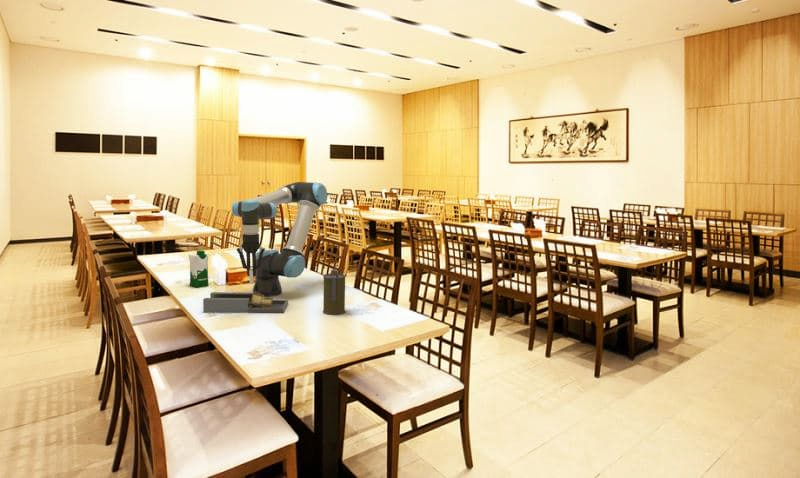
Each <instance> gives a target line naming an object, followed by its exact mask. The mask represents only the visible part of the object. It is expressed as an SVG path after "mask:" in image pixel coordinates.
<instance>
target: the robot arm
mask: <svg viewBox="0 0 800 478" xmlns="http://www.w3.org/2000/svg"><path fill="white" fill-rule="evenodd" d="M327 200H328V191H327V187H326V185H324V184H323V183H322V182H315V181H314V182H309V181H308V182H307V181H296V182H292V183H289V184H286V185H282V186H280V187H279V188H278V189H277V190H275V191H270V192H268V193H265V194H262V195H259V196H257V197H253V198H251V199H245V200H240V201H235V202H233V204H232V206H231V213H232V215H234V216H236V217H239V218H241V232H242V234H241V238H242V239H241V240H242V243H241V246H240V247H237V248H236V251H237V253H238V254H239V258H240V262H241V266H242V268H243V269H244V270H246V276H247V277H249V284H250V285H251V284H252V285H253V288H252V293H255V292H256V293H260V294H263V295H264V297H275V296H279V295H281V294H282V293H283V288H282V285H281V282H280V279H279V277H285V278H294V279H295V278H298V277H300V276H301V275H302V274H303V272H304V270H305V268H306V260H305V257H304V253H303V249H304V247H305V243H306V240H307V237H308V235H309V231H310V228H311V225H312V222H313V219H314V216H315V213H316V212H317V211H319V210H320V207H321V206H323V205H325V204H326V203H327ZM290 203H292V204H294V203H295V204H298V205H299V209H298V211H297V214H296V217H295V219H294V223H293V226H292V229H291V230H290V234H289V237H288V241H287V242H286V246H284V247H282V248H281V251H279V249H267V250H266V247H263V246H262V245H261V244H260V243H261V242H260V234H259V233H260V220H267V219H268V220H269V219H271V218H272V219H273V218H275V217H276V216H277V213H278V208H277V206H279V205H282V204H284V205H288V204H290ZM244 252H245V255H246V259H245V255H244ZM251 261H252V263H251ZM251 266H252V267H251Z"/></svg>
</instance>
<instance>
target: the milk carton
mask: <svg viewBox="0 0 800 478" xmlns="http://www.w3.org/2000/svg"><path fill="white" fill-rule="evenodd" d="M187 255H188V261H189V287H191V288H195V289H200V288H205V287H209V267H208V266H209V264H208V263H209V255H210V254H208V253H205V250H201V249H200V250H197V251H196V253H189V254H187Z"/></svg>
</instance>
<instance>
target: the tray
mask: <svg viewBox="0 0 800 478" xmlns="http://www.w3.org/2000/svg"><path fill="white" fill-rule="evenodd" d="M288 306H289V299H288V300H287V299H285V300H284V299H273V308H262V304H261V305H260V306H258V305H254V304H251V305H250V306H249V308H248V313H247V314H284V313H285V312H286V309H287V307H288Z"/></svg>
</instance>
